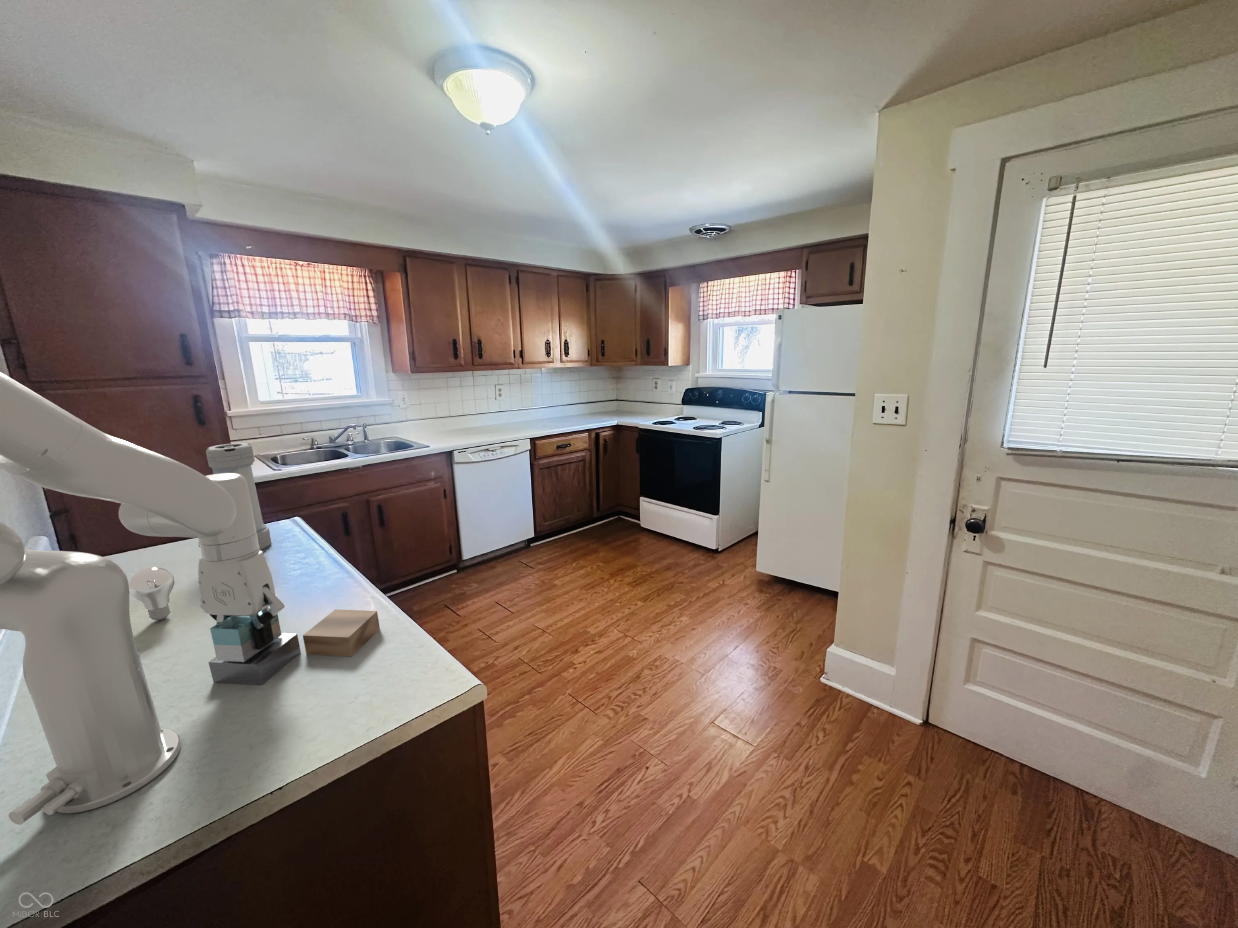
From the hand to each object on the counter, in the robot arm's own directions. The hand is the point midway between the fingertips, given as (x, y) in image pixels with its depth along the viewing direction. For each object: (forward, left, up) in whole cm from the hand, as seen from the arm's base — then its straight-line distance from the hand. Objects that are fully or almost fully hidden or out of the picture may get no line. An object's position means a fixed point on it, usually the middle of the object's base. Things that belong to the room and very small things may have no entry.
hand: (249, 643), depth 85 cm
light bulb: (+14, +34, -5) cm, 37 cm away
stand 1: (+1, 0, -5) cm, 5 cm away
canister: (+51, +47, -5) cm, 69 cm away
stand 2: (+9, -11, -5) cm, 15 cm away
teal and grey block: (0, 0, -1) cm, 1 cm away
